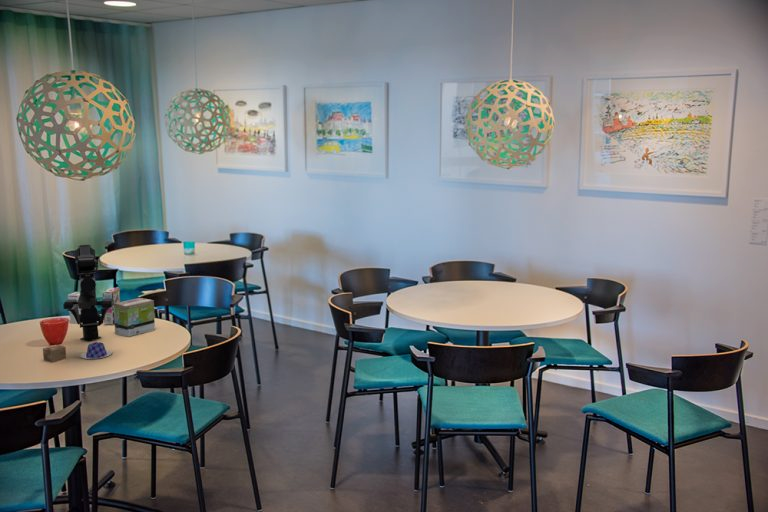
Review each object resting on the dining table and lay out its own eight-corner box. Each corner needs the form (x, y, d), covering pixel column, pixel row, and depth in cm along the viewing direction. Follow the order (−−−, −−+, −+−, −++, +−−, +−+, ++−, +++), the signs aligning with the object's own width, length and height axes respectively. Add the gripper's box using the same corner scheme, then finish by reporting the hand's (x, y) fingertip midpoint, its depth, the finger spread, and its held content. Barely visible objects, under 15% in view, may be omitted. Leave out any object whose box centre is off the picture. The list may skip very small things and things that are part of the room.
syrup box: (80, 323, 332) (78, 294, 329) (69, 323, 333) (67, 294, 331) (87, 320, 337) (85, 292, 335) (77, 320, 339) (75, 291, 336)
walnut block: (43, 360, 278) (42, 347, 277) (57, 356, 283) (56, 344, 282) (53, 362, 275) (52, 350, 274) (66, 358, 280) (65, 346, 279)
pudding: (86, 351, 289) (85, 340, 289) (115, 351, 291) (114, 339, 290) (76, 360, 278) (75, 348, 277) (107, 360, 279) (106, 347, 278)
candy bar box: (114, 325, 329) (112, 292, 327) (104, 325, 329) (102, 292, 326) (121, 319, 340) (119, 287, 338) (111, 319, 340) (109, 287, 337)
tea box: (128, 337, 309) (127, 305, 307) (114, 334, 315) (112, 303, 312) (155, 330, 322) (154, 299, 319) (141, 326, 327) (140, 296, 325)
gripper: (57, 292, 271) (60, 330, 274) (107, 290, 274) (109, 328, 277) (65, 286, 282) (68, 322, 284) (113, 284, 285) (115, 321, 287)
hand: (90, 323), depth 283 cm, fingers open, 9 cm apart
